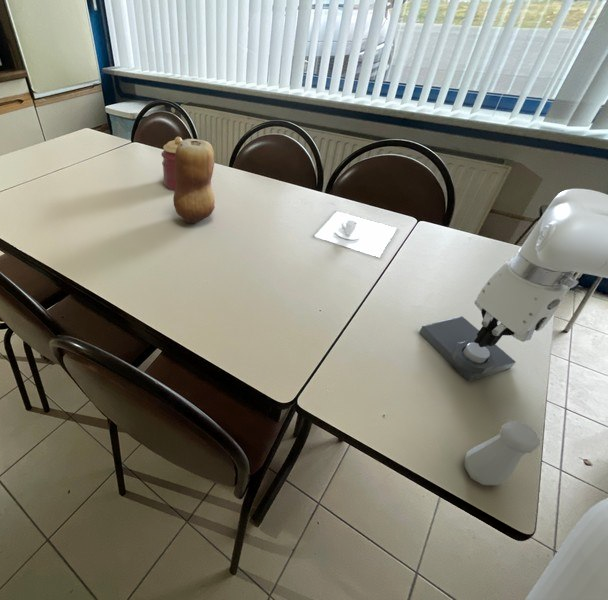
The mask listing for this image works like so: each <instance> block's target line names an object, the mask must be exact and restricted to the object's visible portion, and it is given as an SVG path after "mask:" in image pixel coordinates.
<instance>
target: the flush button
mask: <svg viewBox="0 0 608 600" xmlns="http://www.w3.org/2000/svg"><path fill="white" fill-rule="evenodd" d="M463 354H464V356H465V357H467V358H468V359H469V360H471V361H473V362H475V363H484V362H485V361H486V360H487V358H488V357H489V356H490V352H489V350H488V349H487V348H486V347H480V346H479V344H477V343H469V344H468V345H467V346H466V348H465V349H464V350H463Z"/></svg>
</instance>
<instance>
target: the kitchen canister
mask: <svg viewBox="0 0 608 600" xmlns="http://www.w3.org/2000/svg"><path fill="white" fill-rule="evenodd" d="M183 140H184V139H182V137H180V136H176V137H175V138H174V140H170V141H168V142H167V143H166V144H164V145H163V147H162V148H163V150H162V152H161V157H162V162H161V165H162V173H163V183H164V186H165V187H166V188H167V189H169V190H172V191H175V188H176V178H175V173H174V166H175V153H176V149H177V146H178V145H179V144H180V143H181V142H182V141H183Z"/></svg>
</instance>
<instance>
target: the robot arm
mask: <svg viewBox="0 0 608 600" xmlns="http://www.w3.org/2000/svg"><path fill="white" fill-rule="evenodd" d="M576 273H578V274H584V275H590V276H596V277H600V278H605V279H608V194H607V193H603V192H601V191H597V190H593V189H588V188H587V189H586V188H569V189H565V190H563V191H561V192H559V193H558V194H557V195H556V196H555V197H554V198H553V200H551V202H550V203H549V204H548V206H547V208H546V209H545V211H544V212H543V214H542V215H541V217H540V218H539V220H538V221H537V223H536V224H535V225H534V227H533V229H532V230H531V232H529V235H528V236H527V237H526V239H525V240H524V242H523V244H522V245H521V246H520V248H518V250H517V252H516V253H515V255H514V257H513V258H512V259H508V260H507V261H506V262H504V263H503V264H502V266H500V267H499V268H498V269H496V271H495V272H494V273H493V274H492V276H490V278H489V279H487V281H486V283H484V284H483V287H482V288H481V290H480V291H479V292H478V294H477V296H476V300H474V305H475V306H476V307H477V309H478V310H479V311H480V313H481V316H482V321H481V328H480V329H479V332H478V333H477V338H476V339H475V340H474V342H475V343H477V344H479V346H480V347H485V346H493V345H495V344H496V345H497V343H498V342H499V341H500V340H501V338H502V337H503V336H509V337H510V336H511V337H513V338H514V339H516V340H517V341H519V342H528V341H530V340H531V339H532V337H533V334H534V332H535V331H536V332H539V331H541V330H542V329H543V328H545V326H547V324H548V323H549V321H550V320H551V319H552V317H553V316H554V315H555V313H556V312H557V311H558V309H559V307H560V305H561V304H562V302H563V300H564V298H565V297H566V294H567V292H568V290H569V288H570V289H572V288H574V287H576V286H577V285H578V284H579V280H577V279H576V277H575V276H574V275H575V274H576ZM524 600H608V497H606V498H604V499H602V500H600V501H598V502H597V503H596V504H593V506H591V507H590V508H589V509H588V510H587V511H586V512H585V513H584V514H583V515H582V516H581V517H580V519H579V520H578V521H577V522H576V524H575V525H574V527H573V528H572V529H571V531H569V533H568V535H567V536H566V538H565V539H564V541H563V542H562V544H561V546H560V547H559V548H558V550H557V552H556V553H555V554H554V556H553V557H552V558H551V560H550V562H549V563H548V565H547V566H546V567H545V569H544V570H543V572H542V574H541V575H540V577H539V578H538V579H537V581H536V583H535V584H534V585H533V587H532V589H531V590H530V591H529V593H528V594H527V595H526V597H525V599H524Z"/></svg>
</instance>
